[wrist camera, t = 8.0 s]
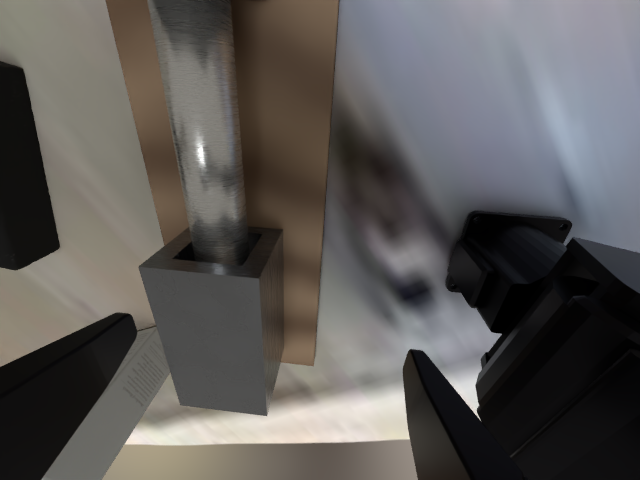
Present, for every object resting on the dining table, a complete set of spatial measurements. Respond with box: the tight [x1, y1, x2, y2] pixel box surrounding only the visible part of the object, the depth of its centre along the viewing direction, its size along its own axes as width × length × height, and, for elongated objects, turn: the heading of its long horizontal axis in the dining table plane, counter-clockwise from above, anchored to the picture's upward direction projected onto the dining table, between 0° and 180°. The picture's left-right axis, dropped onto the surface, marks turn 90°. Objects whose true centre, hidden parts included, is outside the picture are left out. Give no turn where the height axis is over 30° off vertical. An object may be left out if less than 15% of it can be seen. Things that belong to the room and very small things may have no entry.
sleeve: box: [139, 226, 284, 416], centre depth 19 cm, size 12×6×6 cm, turn 177°
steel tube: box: [147, 0, 249, 266], centre depth 13 cm, size 21×5×5 cm, turn 177°
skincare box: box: [41, 326, 170, 480], centre depth 22 cm, size 6×4×12 cm
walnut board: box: [106, 0, 339, 366], centre depth 18 cm, size 35×12×1 cm, turn 177°
